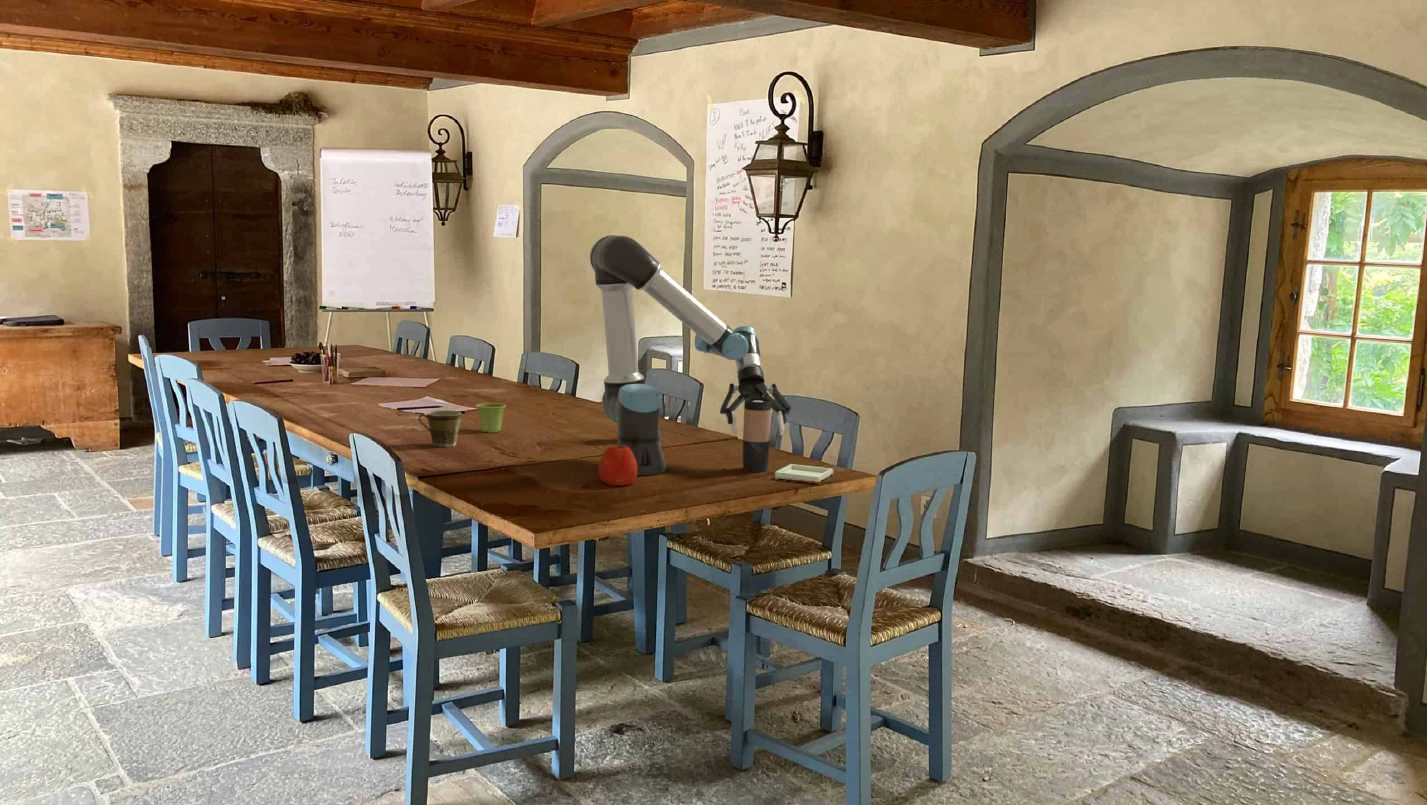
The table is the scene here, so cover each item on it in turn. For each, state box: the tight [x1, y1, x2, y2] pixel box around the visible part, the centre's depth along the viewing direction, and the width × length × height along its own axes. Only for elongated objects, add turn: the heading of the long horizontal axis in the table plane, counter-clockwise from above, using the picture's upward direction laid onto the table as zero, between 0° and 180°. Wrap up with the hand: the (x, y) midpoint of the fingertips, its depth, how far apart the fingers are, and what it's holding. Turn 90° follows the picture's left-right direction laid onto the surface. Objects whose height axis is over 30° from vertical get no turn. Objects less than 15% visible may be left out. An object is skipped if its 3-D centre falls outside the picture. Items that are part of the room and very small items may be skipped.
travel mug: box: [742, 398, 772, 473], centre depth 312 cm, size 8×8×20 cm
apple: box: [598, 444, 638, 487], centre depth 291 cm, size 10×10×10 cm
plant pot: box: [476, 402, 507, 433], centre depth 360 cm, size 9×9×9 cm
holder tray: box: [774, 463, 834, 482], centre depth 305 cm, size 12×12×2 cm
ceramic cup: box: [418, 410, 462, 448], centre depth 335 cm, size 13×10×10 cm
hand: (758, 432), depth 310 cm, fingers open, 13 cm apart
